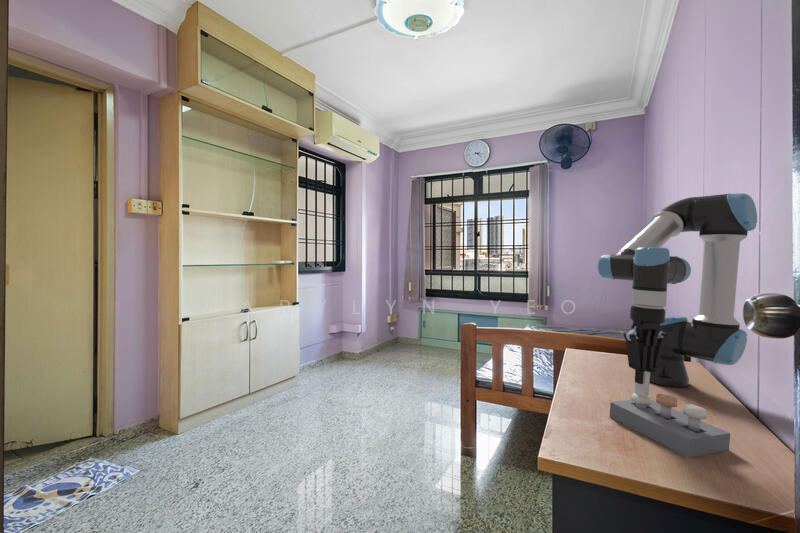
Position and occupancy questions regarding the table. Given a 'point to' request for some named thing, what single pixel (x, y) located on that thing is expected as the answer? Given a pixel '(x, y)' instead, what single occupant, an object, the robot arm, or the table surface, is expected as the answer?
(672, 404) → the terracotta plunger
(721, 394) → the table surface
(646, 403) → the plunger
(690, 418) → the plunger
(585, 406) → the table surface
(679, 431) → the console
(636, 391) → the robot arm
